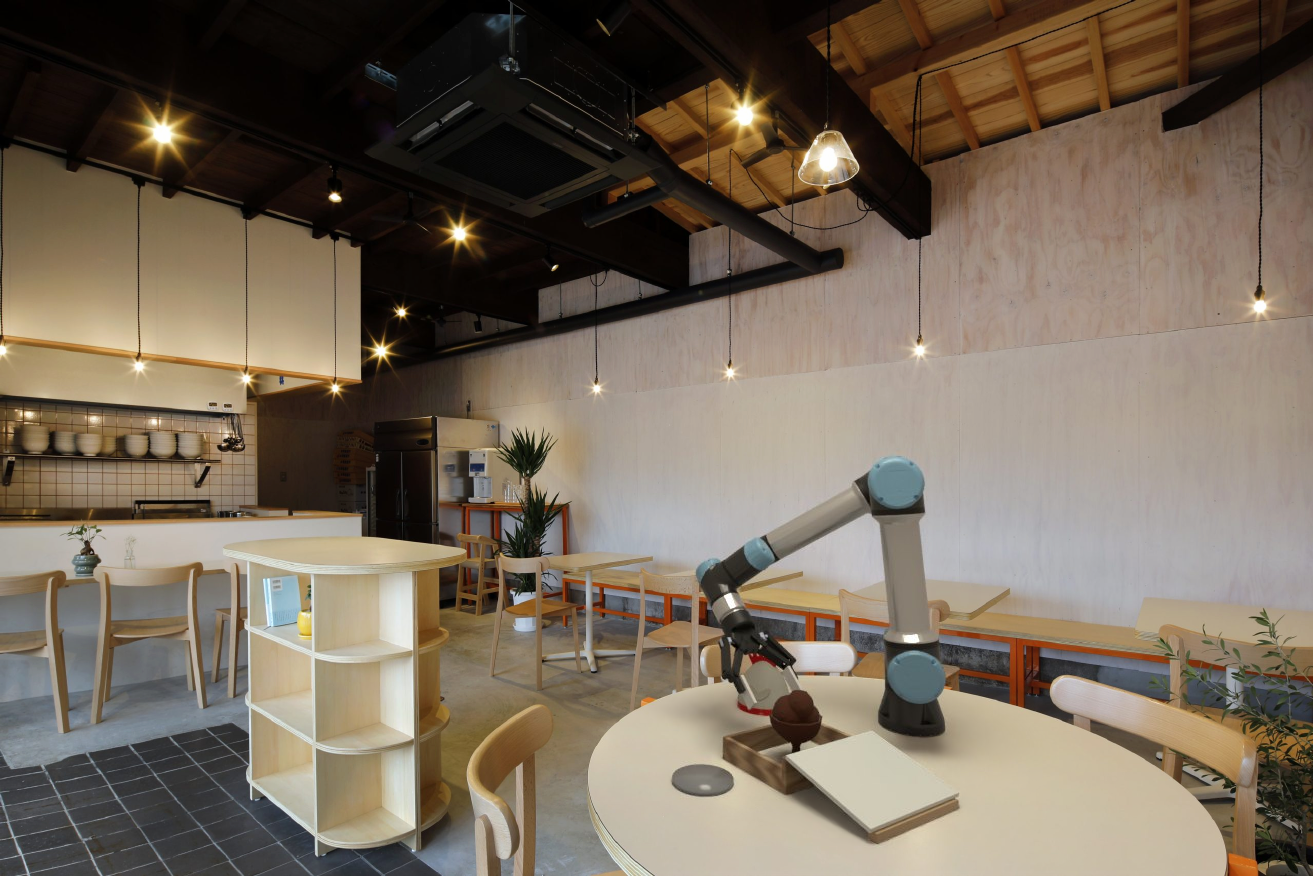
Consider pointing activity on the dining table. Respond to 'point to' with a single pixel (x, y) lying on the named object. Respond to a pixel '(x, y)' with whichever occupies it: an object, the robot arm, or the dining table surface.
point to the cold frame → (780, 777)
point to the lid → (876, 784)
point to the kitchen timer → (763, 685)
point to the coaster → (702, 780)
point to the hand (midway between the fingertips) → (777, 701)
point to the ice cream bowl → (796, 718)
